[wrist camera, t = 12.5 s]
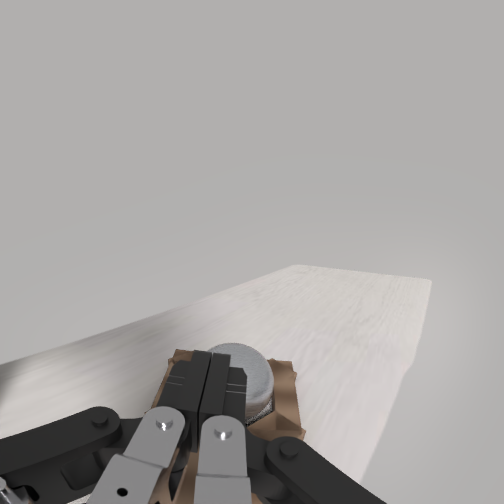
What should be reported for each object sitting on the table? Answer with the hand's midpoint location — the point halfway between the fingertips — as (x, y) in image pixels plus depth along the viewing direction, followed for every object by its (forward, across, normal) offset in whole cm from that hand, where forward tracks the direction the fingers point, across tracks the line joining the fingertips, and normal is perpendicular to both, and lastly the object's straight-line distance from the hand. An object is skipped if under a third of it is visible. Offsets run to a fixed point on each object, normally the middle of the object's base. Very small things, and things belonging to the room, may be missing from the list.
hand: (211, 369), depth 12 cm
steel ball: (+20, -1, +17) cm, 26 cm away
